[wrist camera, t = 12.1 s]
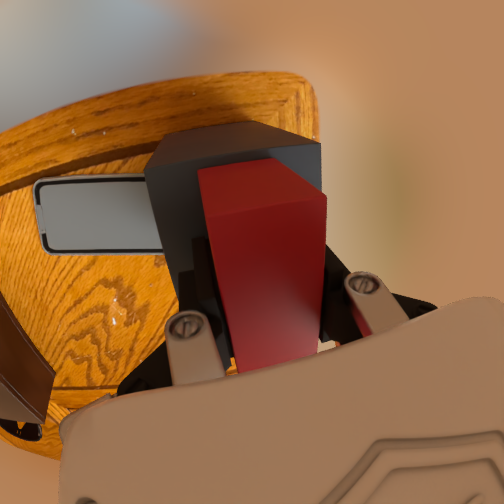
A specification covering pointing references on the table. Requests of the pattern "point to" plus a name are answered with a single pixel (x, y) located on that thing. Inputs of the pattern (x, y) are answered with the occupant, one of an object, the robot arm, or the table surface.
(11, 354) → the cabinet
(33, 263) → the table surface
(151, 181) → the stand
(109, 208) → the smartphone
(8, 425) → the sunglasses
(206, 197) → the red rectangular block
